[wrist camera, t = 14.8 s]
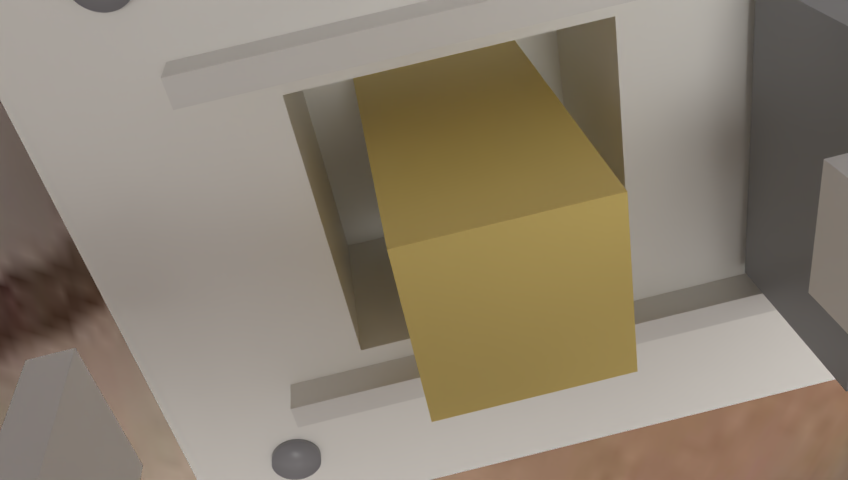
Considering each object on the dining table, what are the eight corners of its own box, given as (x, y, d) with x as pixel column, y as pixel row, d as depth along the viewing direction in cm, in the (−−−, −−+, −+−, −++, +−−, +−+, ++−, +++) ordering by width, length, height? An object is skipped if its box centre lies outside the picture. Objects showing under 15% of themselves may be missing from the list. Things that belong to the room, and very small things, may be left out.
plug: (351, 72, 20) (386, 249, 13) (511, 35, 20) (628, 191, 13) (386, 210, 22) (431, 422, 15) (529, 175, 22) (637, 371, 15)
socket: (-14, -159, 16) (-138, -112, 12) (834, -353, 17) (1058, -386, 12) (233, 398, 25) (221, 557, 20) (788, 262, 26) (906, 386, 21)
